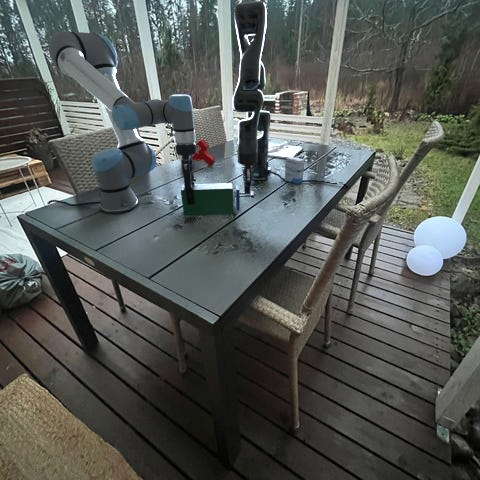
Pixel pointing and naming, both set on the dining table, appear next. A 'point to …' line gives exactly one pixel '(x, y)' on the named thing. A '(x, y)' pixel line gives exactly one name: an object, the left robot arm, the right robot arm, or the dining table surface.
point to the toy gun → (203, 153)
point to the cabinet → (209, 199)
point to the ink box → (294, 170)
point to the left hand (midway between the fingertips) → (191, 200)
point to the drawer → (241, 196)
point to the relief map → (282, 150)
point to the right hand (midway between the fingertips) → (247, 193)
